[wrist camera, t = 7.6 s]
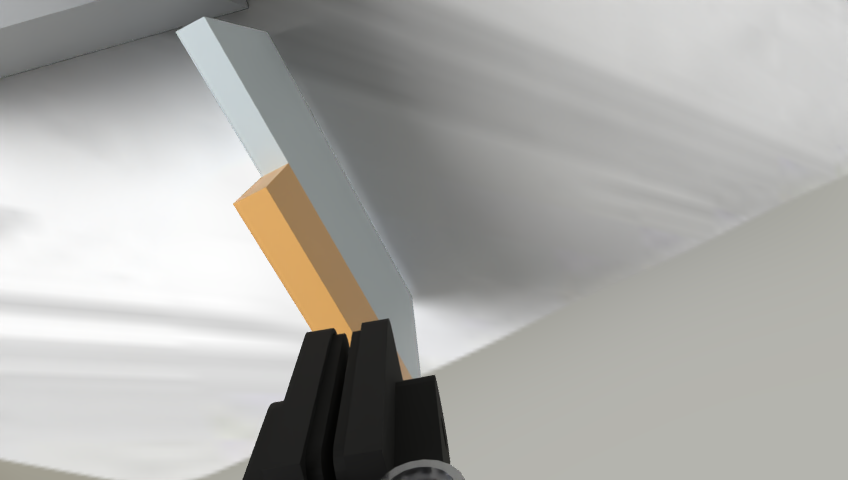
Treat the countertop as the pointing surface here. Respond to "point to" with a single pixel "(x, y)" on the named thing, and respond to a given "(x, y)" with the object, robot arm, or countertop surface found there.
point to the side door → (301, 192)
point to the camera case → (89, 26)
